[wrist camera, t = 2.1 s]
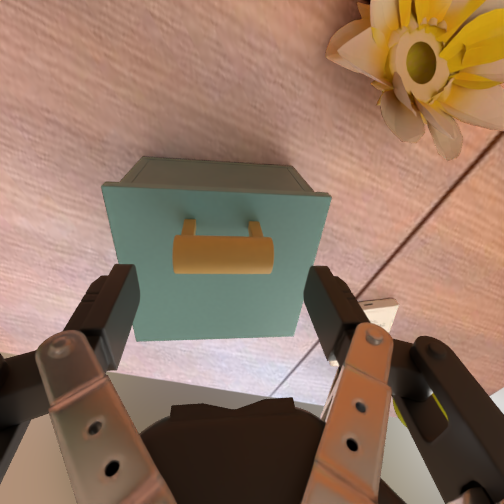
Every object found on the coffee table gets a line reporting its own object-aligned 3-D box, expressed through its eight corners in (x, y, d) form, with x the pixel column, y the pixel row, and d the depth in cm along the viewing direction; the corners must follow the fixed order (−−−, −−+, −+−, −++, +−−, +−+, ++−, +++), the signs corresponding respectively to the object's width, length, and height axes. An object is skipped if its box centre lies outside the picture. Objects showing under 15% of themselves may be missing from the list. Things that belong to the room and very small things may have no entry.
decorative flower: (569, 11, 19) (747, 19, 12) (428, 146, 26) (486, 202, 19) (429, -164, 15) (575, -317, 8) (306, 55, 22) (320, 83, 15)
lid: (105, 180, 15) (61, 222, 11) (328, 192, 17) (365, 231, 13) (138, 334, 23) (120, 395, 18) (291, 329, 25) (308, 383, 20)
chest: (142, 156, 23) (108, 193, 16) (292, 165, 25) (324, 203, 18) (157, 270, 30) (138, 333, 23) (274, 271, 32) (291, 329, 25)
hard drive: (327, 358, 43) (337, 304, 36) (375, 351, 44) (394, 297, 37) (330, 367, 42) (342, 313, 35) (380, 360, 43) (401, 306, 36)
